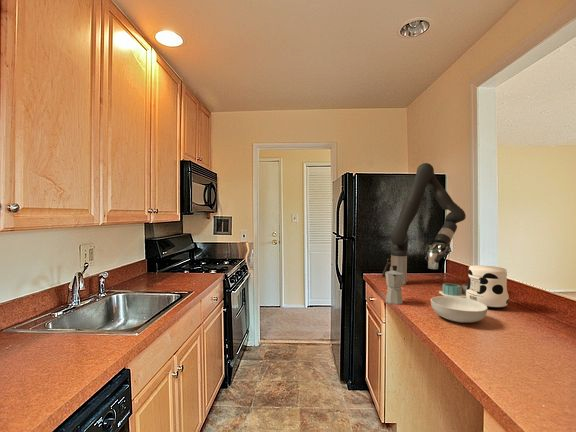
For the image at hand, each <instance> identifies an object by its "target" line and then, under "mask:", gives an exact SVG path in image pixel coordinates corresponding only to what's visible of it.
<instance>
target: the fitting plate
mask: <svg viewBox="0 0 576 432" xmlns="http://www.w3.org/2000/svg"><path fill="white" fill-rule="evenodd" d="M467 287H468V283H462V284H461V285H460V284H457V283H450V282H447V283H442V290H438V294H440V295H441V296H453V297H461V298H466V290H467ZM466 299H467V298H466Z"/></svg>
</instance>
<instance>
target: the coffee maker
mask: <svg viewBox="0 0 576 432" xmlns="http://www.w3.org/2000/svg"><path fill="white" fill-rule="evenodd" d="M392 267H393V270H392V271H390V270H389V271H388V270H387V271H386V272H385V275H386V277H385V284H386V286H387V290H386V295H385V303H386V304H388V305H397V306H398V305H403V304H404V302H403V295H402V287H403V285H402V284H403V277H404V273H402V272H399V271H397V266H392Z"/></svg>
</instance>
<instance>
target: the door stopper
mask: <svg viewBox="0 0 576 432" xmlns="http://www.w3.org/2000/svg"><path fill="white" fill-rule="evenodd" d="M388 266H390V267H391V258H387V259H386V265H385V267H384V269H383V272H382V274H381V278H386V275H385V272H388Z"/></svg>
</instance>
